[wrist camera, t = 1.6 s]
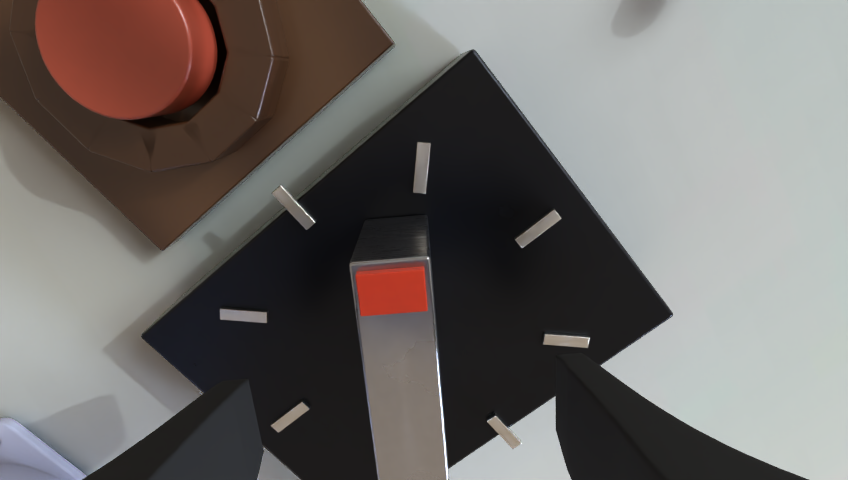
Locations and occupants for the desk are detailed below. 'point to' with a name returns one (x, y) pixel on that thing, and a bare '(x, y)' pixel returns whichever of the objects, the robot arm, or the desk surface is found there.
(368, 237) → the knob
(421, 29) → the desk surface
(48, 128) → the button block
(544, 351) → the dial base
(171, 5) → the button
